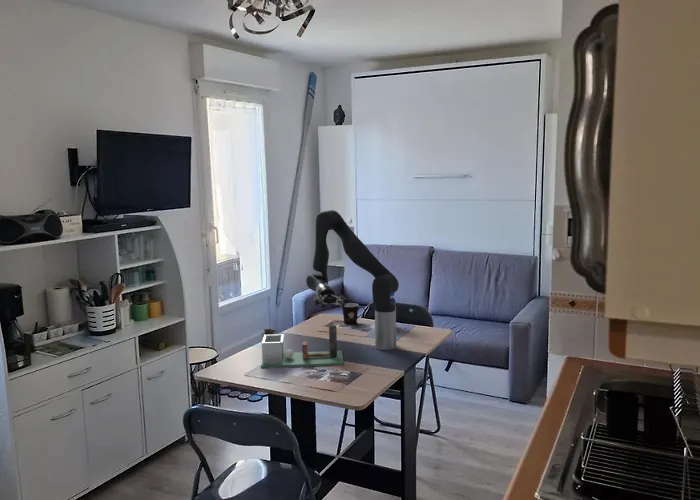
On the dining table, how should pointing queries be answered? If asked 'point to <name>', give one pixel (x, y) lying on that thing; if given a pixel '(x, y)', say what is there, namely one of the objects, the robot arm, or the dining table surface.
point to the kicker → (331, 345)
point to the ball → (288, 354)
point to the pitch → (307, 361)
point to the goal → (272, 349)
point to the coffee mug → (351, 313)
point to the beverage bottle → (394, 303)
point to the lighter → (269, 332)
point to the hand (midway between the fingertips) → (333, 306)
